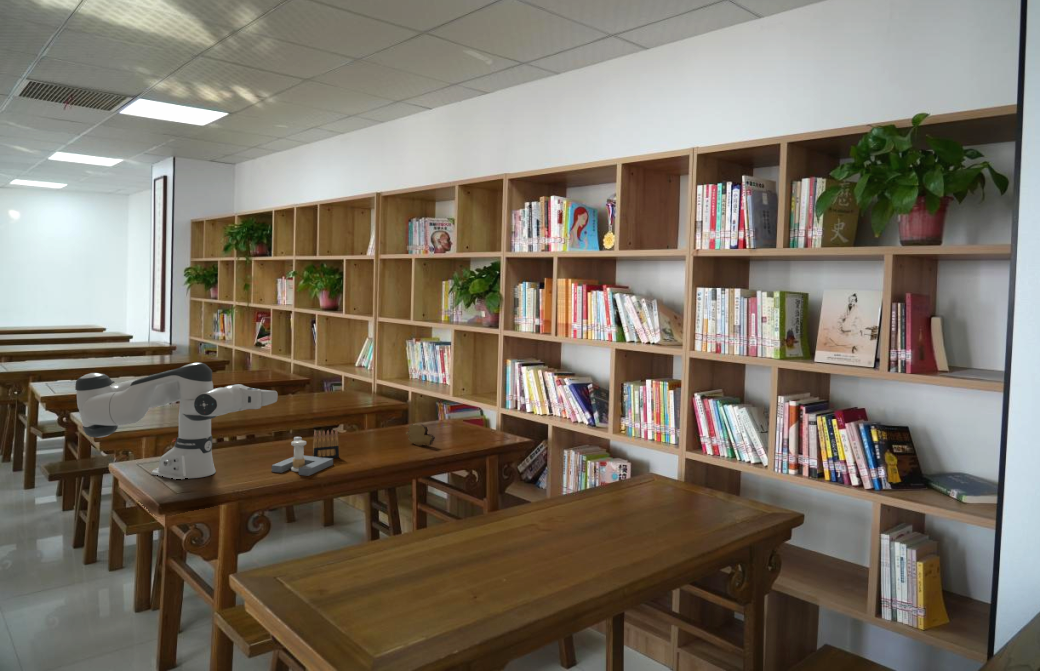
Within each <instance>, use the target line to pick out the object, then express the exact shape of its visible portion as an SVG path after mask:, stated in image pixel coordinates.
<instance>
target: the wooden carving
mask: <svg viewBox="0 0 1040 671" xmlns="http://www.w3.org/2000/svg"><path fill="white" fill-rule="evenodd" d="M408 430H409V431H406V432H405V434H406V435H407V436H408V438H407V439H408V441H409V442H411V443H412V444H414V445H415V446H424V445H425V446H427V447H429V446H432V445H433V443H434V441H435V438H436V437H435V436H434V434H431V433H428V431H429V430H428V427H427V426H425V425H424V424H422V423H418V422H417V423H414V424H413V423H411V424H409V425H408Z"/></svg>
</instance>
